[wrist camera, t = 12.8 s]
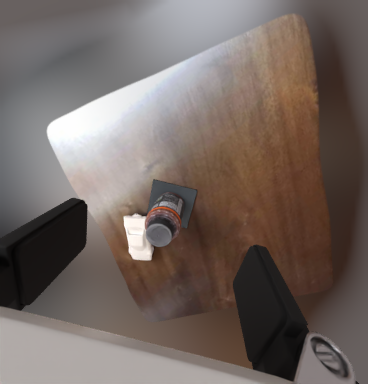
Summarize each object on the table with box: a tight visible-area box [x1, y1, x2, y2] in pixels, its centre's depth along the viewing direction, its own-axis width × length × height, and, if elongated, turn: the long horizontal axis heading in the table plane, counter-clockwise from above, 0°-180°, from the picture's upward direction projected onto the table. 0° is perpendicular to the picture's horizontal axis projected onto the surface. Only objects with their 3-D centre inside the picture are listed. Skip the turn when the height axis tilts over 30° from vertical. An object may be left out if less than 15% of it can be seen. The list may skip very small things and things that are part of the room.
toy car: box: [124, 213, 154, 260], centre depth 38 cm, size 6×12×3 cm, turn 1°
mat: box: [147, 179, 197, 228], centre depth 36 cm, size 9×9×1 cm
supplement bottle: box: [145, 192, 184, 247], centre depth 30 cm, size 6×6×11 cm
